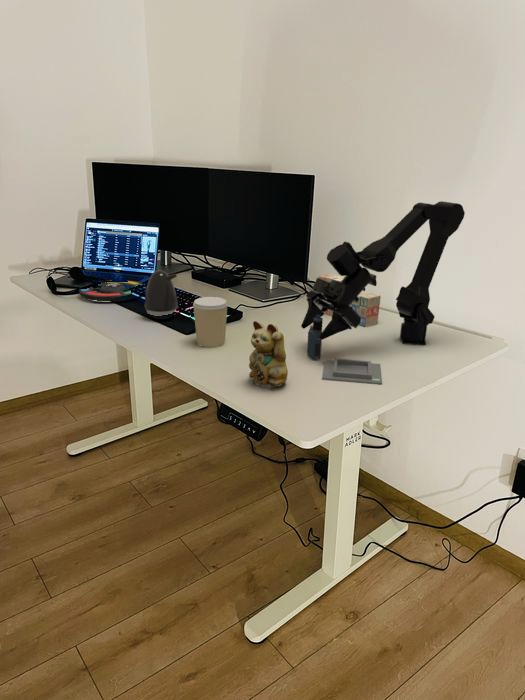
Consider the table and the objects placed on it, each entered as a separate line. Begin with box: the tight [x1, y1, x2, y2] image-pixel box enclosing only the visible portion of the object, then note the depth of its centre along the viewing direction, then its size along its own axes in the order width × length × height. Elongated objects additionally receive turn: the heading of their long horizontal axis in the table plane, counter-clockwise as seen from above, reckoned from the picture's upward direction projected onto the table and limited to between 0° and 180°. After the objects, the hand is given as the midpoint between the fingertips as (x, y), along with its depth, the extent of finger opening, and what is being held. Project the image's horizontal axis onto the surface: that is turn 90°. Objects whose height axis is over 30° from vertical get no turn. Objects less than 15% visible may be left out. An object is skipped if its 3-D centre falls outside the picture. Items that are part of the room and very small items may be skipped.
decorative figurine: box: [248, 320, 289, 390], centre depth 125 cm, size 10×8×15 cm
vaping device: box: [306, 314, 324, 361], centre depth 140 cm, size 3×5×12 cm, turn 15°
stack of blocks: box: [318, 273, 382, 328], centre depth 174 cm, size 21×6×12 cm, turn 39°
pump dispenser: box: [144, 269, 179, 316], centre depth 169 cm, size 10×10×15 cm
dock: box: [321, 357, 383, 385], centre depth 133 cm, size 14×12×2 cm
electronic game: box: [78, 280, 144, 301], centre depth 195 cm, size 23×23×5 cm
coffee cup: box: [192, 296, 228, 348], centre depth 149 cm, size 9×9×12 cm
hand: (311, 332), depth 140 cm, fingers open, 9 cm apart
